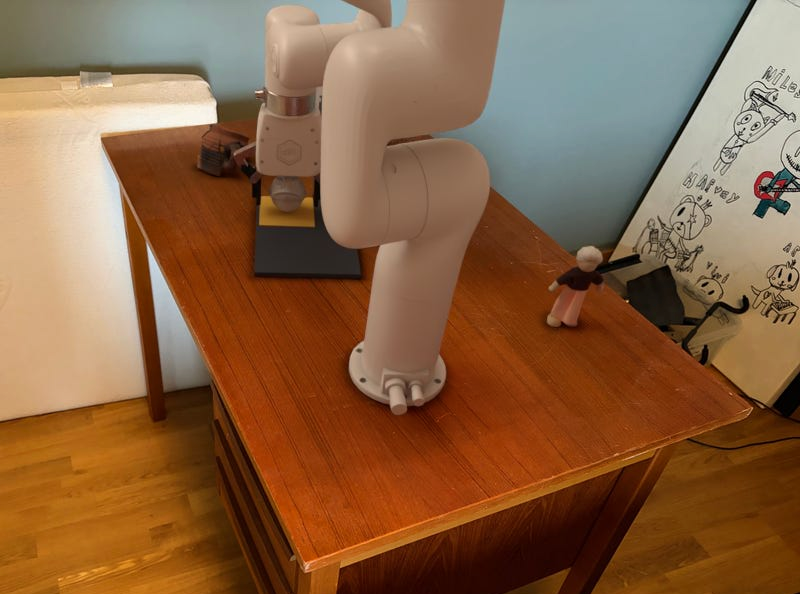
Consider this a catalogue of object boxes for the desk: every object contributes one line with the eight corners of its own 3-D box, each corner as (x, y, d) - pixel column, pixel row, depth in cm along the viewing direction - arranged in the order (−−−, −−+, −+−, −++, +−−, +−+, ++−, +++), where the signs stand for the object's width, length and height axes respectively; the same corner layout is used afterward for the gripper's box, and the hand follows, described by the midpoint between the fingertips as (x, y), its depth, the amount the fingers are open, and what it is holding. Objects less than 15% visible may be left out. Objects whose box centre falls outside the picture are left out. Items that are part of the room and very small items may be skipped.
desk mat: (360, 278, 104) (361, 273, 104) (254, 276, 103) (254, 271, 103) (349, 202, 120) (350, 197, 120) (257, 199, 119) (257, 194, 118)
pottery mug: (185, 163, 128) (197, 118, 125) (229, 176, 133) (241, 133, 131) (212, 176, 119) (225, 128, 116) (258, 190, 124) (272, 144, 122)
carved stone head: (267, 220, 113) (267, 182, 108) (270, 198, 118) (270, 160, 113) (304, 223, 113) (306, 185, 108) (306, 201, 118) (308, 163, 113)
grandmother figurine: (547, 332, 98) (576, 259, 89) (534, 315, 100) (561, 242, 92) (595, 326, 100) (627, 253, 91) (581, 309, 102) (611, 236, 94)
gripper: (230, 107, 99) (233, 212, 111) (350, 112, 100) (341, 215, 112) (232, 86, 104) (235, 188, 116) (346, 91, 106) (338, 192, 117)
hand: (287, 201), depth 114 cm, fingers open, 9 cm apart
